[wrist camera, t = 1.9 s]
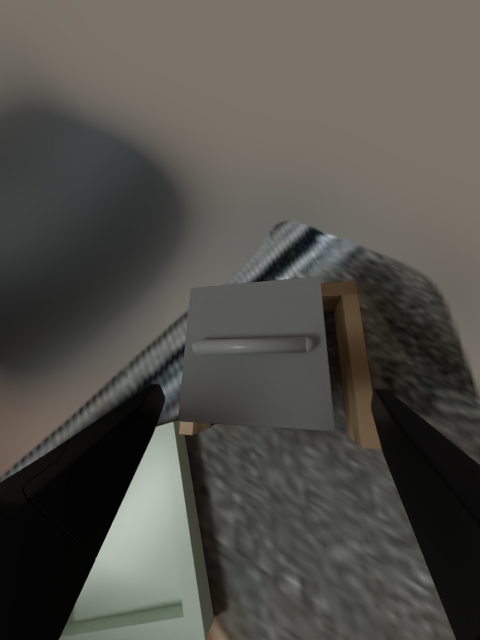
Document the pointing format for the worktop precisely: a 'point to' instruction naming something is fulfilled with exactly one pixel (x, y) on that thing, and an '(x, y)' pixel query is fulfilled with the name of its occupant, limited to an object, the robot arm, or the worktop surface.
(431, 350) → the worktop surface
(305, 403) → the grey drawer with handle
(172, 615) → the tray
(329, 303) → the bay
